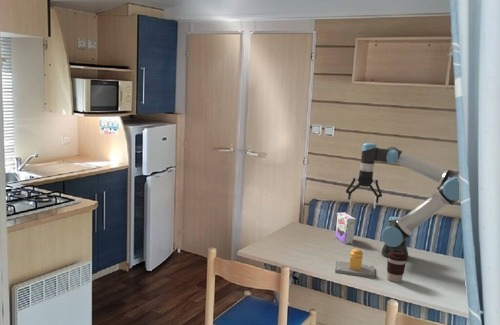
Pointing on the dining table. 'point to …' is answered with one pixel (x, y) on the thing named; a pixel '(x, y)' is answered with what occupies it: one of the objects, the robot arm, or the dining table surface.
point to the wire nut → (355, 259)
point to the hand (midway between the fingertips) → (362, 206)
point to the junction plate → (344, 268)
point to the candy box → (345, 228)
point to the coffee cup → (396, 265)
